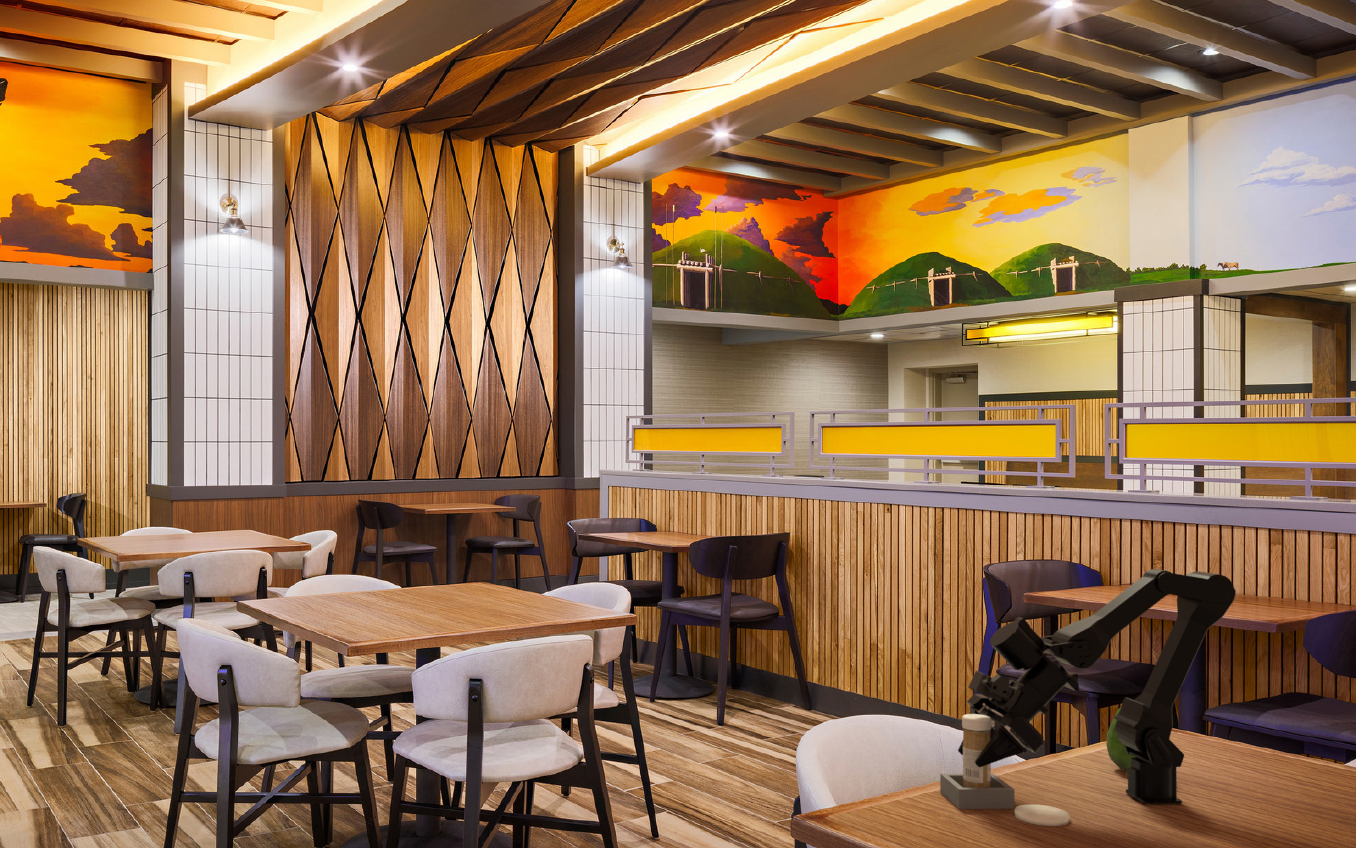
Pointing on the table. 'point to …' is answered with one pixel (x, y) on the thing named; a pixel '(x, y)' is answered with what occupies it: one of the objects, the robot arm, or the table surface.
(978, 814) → the table surface
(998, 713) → the robot arm
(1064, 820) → the white round coaster
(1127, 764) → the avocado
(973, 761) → the sprinkles bottle
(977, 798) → the sleeve
